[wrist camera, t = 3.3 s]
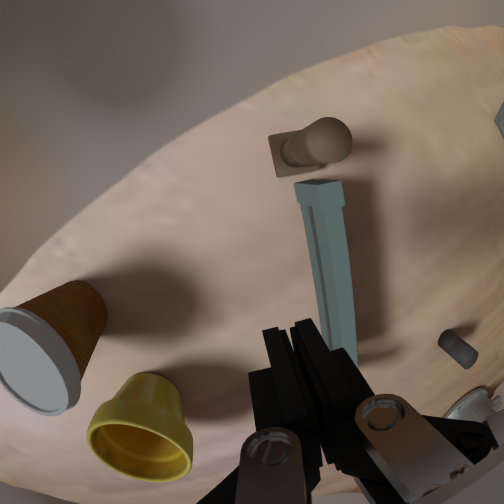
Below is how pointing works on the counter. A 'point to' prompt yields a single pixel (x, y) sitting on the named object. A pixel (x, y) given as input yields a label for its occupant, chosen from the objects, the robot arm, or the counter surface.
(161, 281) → the counter surface
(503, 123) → the skincare box
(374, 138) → the counter surface
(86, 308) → the disposable coffee cup
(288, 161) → the gate posts
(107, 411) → the plant pot
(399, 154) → the counter surface
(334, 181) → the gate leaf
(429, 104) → the counter surface
